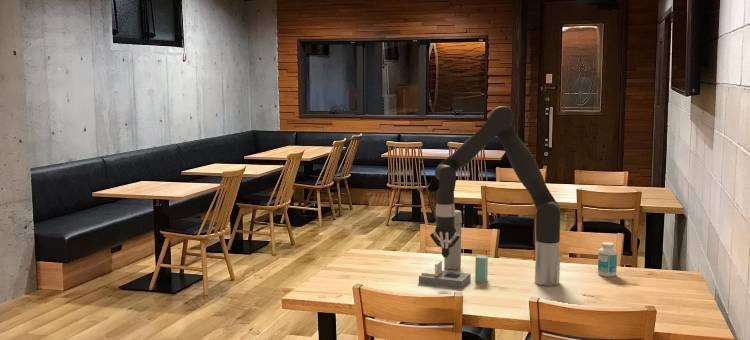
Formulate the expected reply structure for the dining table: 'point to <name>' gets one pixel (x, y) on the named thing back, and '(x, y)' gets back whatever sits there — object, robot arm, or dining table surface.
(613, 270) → the pill bottle
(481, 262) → the teal flat-sided block
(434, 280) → the socket block
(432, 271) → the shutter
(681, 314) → the dining table surface
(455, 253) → the water bottle
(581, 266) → the dining table surface
